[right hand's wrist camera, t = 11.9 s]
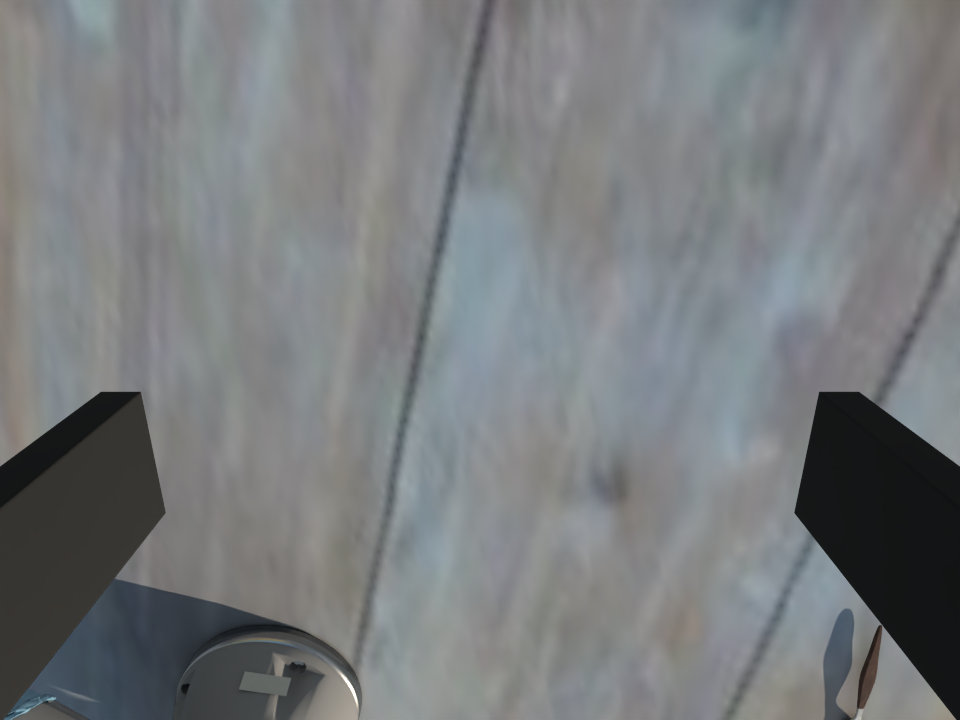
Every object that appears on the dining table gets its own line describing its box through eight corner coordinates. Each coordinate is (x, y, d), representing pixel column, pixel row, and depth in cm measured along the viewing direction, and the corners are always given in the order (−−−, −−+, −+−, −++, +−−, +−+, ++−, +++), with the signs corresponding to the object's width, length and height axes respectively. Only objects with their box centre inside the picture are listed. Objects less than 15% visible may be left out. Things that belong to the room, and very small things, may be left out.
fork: (893, 620, 53) (908, 638, 51) (858, 758, 59) (870, 779, 57) (861, 621, 53) (875, 639, 51) (829, 759, 59) (840, 780, 57)
